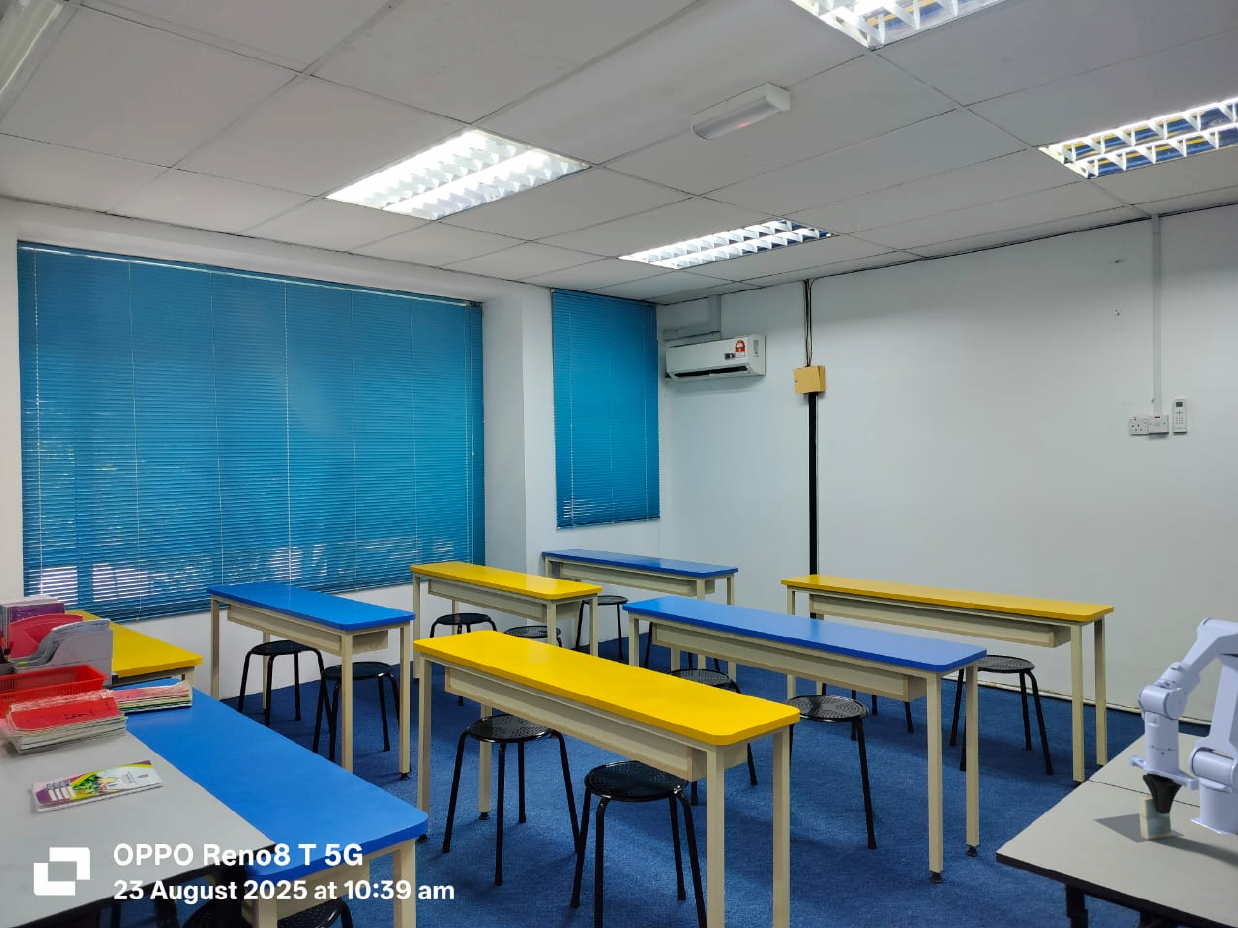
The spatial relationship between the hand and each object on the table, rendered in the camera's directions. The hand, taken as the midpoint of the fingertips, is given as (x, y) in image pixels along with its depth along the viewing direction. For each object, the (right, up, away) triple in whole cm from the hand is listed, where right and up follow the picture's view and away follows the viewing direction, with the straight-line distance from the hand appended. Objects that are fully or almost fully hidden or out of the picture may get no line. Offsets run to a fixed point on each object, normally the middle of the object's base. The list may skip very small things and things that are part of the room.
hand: (1163, 811), depth 164 cm
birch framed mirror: (0, -6, +2) cm, 6 cm away
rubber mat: (-1, -6, +6) cm, 9 cm away
